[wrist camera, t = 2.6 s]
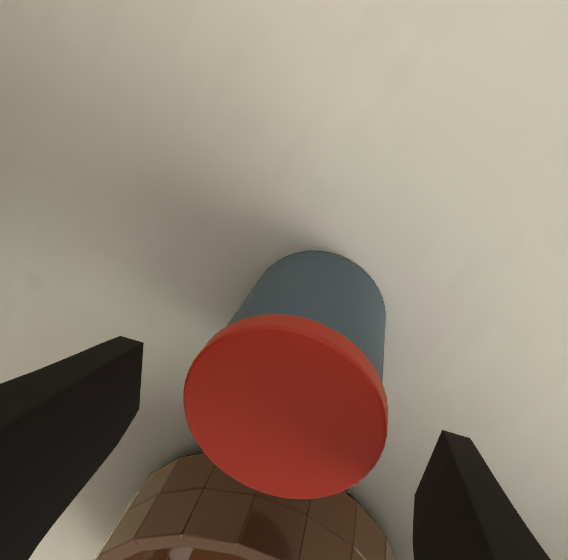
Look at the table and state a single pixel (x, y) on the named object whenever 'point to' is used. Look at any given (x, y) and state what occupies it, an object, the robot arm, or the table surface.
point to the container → (295, 381)
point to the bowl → (237, 521)
